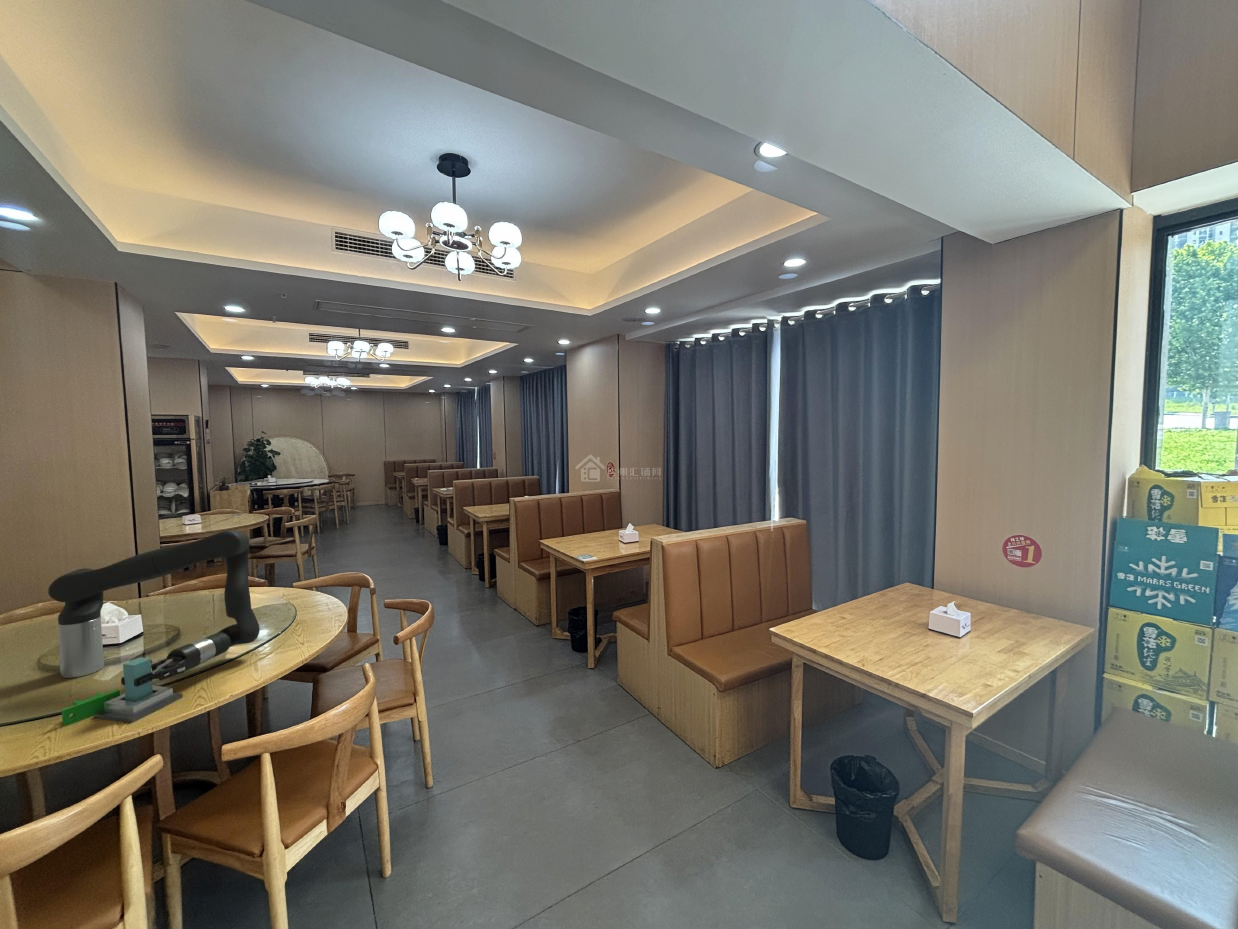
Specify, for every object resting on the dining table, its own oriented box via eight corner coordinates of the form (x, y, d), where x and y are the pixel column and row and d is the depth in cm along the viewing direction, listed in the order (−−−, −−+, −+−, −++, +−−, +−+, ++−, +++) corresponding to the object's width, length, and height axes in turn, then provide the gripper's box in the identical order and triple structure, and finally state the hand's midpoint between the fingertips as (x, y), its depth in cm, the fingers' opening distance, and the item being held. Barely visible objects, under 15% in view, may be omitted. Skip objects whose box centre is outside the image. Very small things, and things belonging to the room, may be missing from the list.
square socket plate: (93, 717, 133) (92, 705, 133) (146, 692, 146) (146, 681, 146) (131, 723, 131) (131, 710, 131) (182, 697, 144) (182, 685, 144)
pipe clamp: (114, 703, 141) (113, 687, 141) (120, 705, 140) (120, 690, 139) (58, 723, 131) (57, 706, 131) (64, 727, 129) (63, 710, 129)
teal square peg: (125, 705, 137) (123, 664, 136) (141, 697, 141) (139, 657, 140) (137, 707, 136) (134, 665, 136) (153, 699, 140) (150, 658, 139)
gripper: (173, 641, 154) (107, 667, 137) (210, 645, 151) (148, 672, 134) (174, 664, 154) (108, 693, 137) (211, 668, 152) (150, 698, 135)
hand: (128, 682), depth 136 cm, fingers closed on teal square peg, 3 cm apart
